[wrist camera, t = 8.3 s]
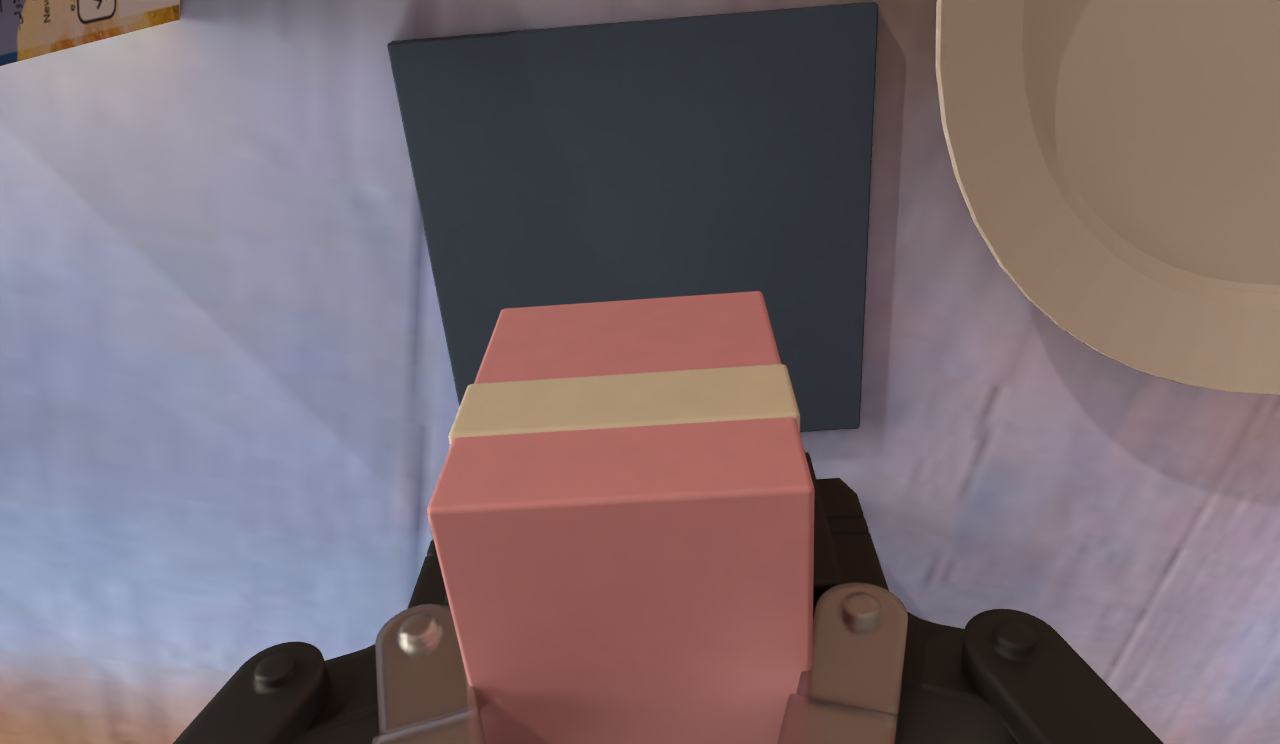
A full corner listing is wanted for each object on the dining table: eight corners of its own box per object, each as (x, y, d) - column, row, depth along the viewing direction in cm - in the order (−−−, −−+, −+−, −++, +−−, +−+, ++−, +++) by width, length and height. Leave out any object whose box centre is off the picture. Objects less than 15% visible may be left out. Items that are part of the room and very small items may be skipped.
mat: (470, 445, 32) (468, 452, 32) (390, 41, 26) (386, 43, 25) (856, 421, 32) (859, 428, 31) (875, 1, 25) (878, 3, 25)
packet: (557, 655, 19) (522, 926, 14) (497, 304, 15) (418, 506, 10) (771, 644, 19) (813, 916, 14) (765, 285, 15) (821, 483, 10)
